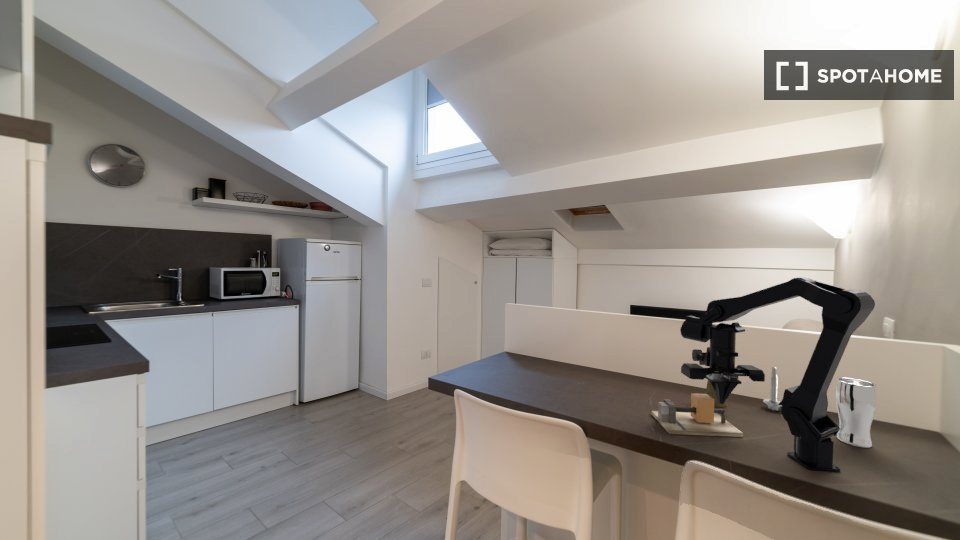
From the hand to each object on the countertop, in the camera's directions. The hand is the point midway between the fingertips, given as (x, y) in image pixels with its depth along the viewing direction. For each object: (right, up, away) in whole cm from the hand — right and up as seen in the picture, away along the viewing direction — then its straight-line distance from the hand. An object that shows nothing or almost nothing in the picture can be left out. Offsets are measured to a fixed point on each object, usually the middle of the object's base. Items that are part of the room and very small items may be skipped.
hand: (720, 403), depth 99 cm
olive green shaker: (+9, -6, +15) cm, 19 cm away
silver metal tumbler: (+28, -7, -8) cm, 30 cm away
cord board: (-7, -6, +1) cm, 9 cm away
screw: (+23, -6, +11) cm, 26 cm away
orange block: (-5, -4, 0) cm, 7 cm away
